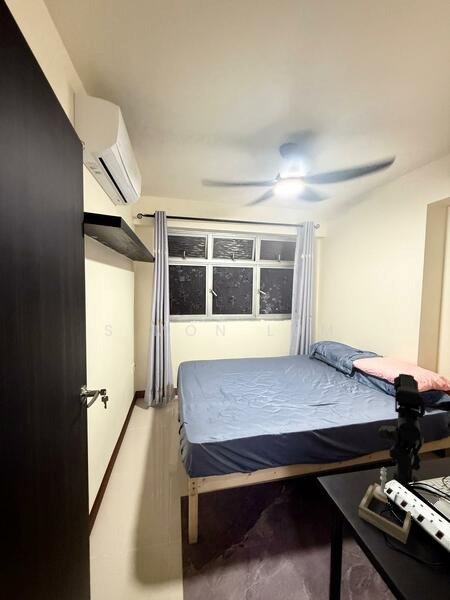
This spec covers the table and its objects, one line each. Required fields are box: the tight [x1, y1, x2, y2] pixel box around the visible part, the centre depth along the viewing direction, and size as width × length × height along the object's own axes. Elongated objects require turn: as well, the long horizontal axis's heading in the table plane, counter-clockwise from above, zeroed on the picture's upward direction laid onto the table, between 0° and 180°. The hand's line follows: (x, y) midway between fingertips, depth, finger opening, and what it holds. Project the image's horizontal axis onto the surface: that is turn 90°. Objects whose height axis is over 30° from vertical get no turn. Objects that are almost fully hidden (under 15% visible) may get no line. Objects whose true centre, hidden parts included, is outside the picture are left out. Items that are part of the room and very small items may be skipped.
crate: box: [358, 484, 413, 545], centre depth 85 cm, size 13×13×4 cm
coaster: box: [372, 482, 391, 506], centre depth 93 cm, size 7×7×1 cm
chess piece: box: [375, 466, 387, 499], centre depth 93 cm, size 5×5×10 cm
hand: (406, 468), depth 89 cm, fingers open, 9 cm apart
